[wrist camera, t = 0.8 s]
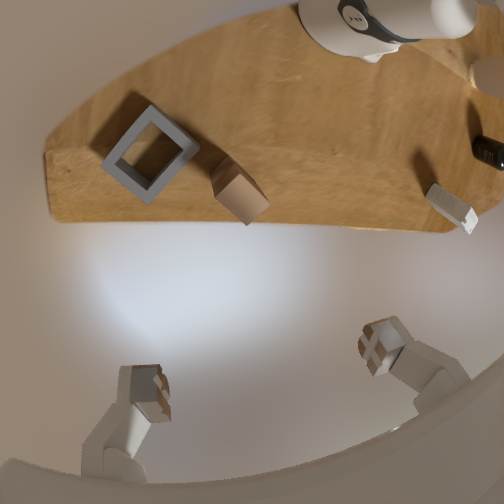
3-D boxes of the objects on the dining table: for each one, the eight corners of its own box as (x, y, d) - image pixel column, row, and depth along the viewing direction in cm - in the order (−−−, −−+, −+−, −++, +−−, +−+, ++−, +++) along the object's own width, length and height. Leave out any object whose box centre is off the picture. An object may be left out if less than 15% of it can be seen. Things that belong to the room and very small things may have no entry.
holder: (154, 103, 32) (150, 104, 28) (199, 144, 36) (200, 149, 33) (107, 159, 34) (99, 166, 31) (151, 195, 39) (148, 205, 36)
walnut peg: (228, 155, 38) (240, 173, 30) (253, 179, 41) (270, 204, 33) (209, 173, 39) (214, 197, 31) (234, 197, 42) (246, 226, 34)
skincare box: (443, 195, 51) (480, 219, 41) (434, 210, 52) (469, 236, 42) (433, 181, 48) (472, 205, 38) (423, 197, 50) (461, 223, 40)
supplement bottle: (481, 161, 48) (515, 180, 38) (469, 155, 46) (506, 173, 36) (486, 138, 44) (521, 153, 34) (475, 130, 43) (513, 145, 33)
